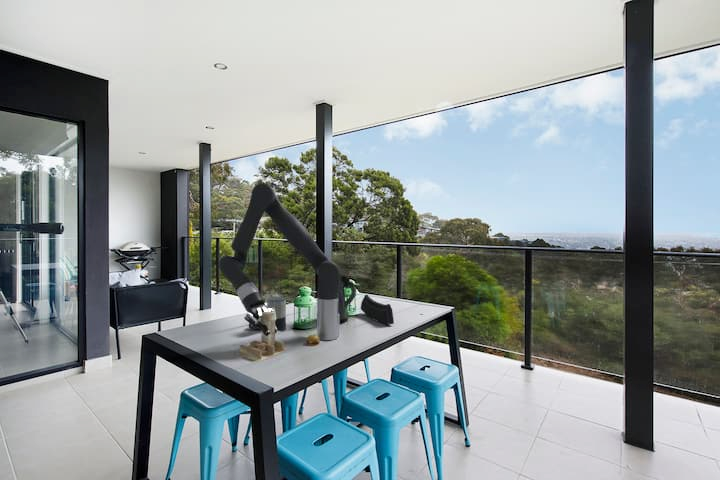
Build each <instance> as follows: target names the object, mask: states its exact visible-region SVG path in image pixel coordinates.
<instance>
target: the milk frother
mask: <svg viewBox="0 0 720 480" xmlns="http://www.w3.org/2000/svg"><path fill="white" fill-rule="evenodd" d="M287 299H288V298H287V297H286V296H279V295H278V296H270V297H267V298H266V306H267V307H268V308H270V309H272V308H275V312H276V318H277V320H276V321H275V326H276V327H277V332H284V331H286V330H287V321H286V320H287V317H286V316H287V315H286V314H287V301H286V300H287ZM254 323H255V322H254ZM255 324H256V323H255ZM248 329H249V330H252V331H261V329H260V328H258V327H257V328H254V327H253V326H252V325H251V324H250V323H249V322H248Z"/></svg>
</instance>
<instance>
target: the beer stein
mask: <svg viewBox="0 0 720 480" xmlns="http://www.w3.org/2000/svg"><path fill="white" fill-rule="evenodd" d="M345 288H350V291H351V293H350V296H349V297H348V298H347V299H346V292H345ZM356 295H357V286H356V284H355V283H354V282H353V281H350V277H349V276H347V275H343V274H341V273H340V286H339V299H338V314H339V315H340V319H339V325H343V323H344V324H346V323H347V322H348V321H349V311H348V308H347V307H348V306H349V305H350V304H351V303H352V302H353V300H354V299H355V297H356ZM345 322H346V323H345Z"/></svg>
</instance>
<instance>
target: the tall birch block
mask: <svg viewBox="0 0 720 480" xmlns="http://www.w3.org/2000/svg"><path fill="white" fill-rule="evenodd" d="M262 317H263V321H264V323H265V325H266V326H267V328H268V330H269V331H270V334H269V335H268V336H265V335H264V334H263V332H262V330H260V332H261V334H260V335H261V339H260V340H261V341H260V342H263V343H266V344H269V345H273V346H274V350H275V341H276V333H275V312H270V311H266V312H262Z"/></svg>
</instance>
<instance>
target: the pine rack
mask: <svg viewBox="0 0 720 480" xmlns="http://www.w3.org/2000/svg"><path fill="white" fill-rule="evenodd" d="M254 341H256V340H252V342H254ZM265 344H266V343H265ZM249 346H250V345H244V344H243V343H242V344H239V352H237V353H236V355H238V356H240V357H243V358H246V359H249V360H253V361H256V362H259V361H262V360H264V359H267V358H269V357H270V358H271V357H273V356H275V355H278V354H280V353H283V352H286V351H287V349H286V348H285V343H284V342H283V341H278V340H275V350H274V346H273V345H269V344H266V347H265V350H267V354H265V355H262V350H259V349H256V348H252V347H249Z"/></svg>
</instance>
